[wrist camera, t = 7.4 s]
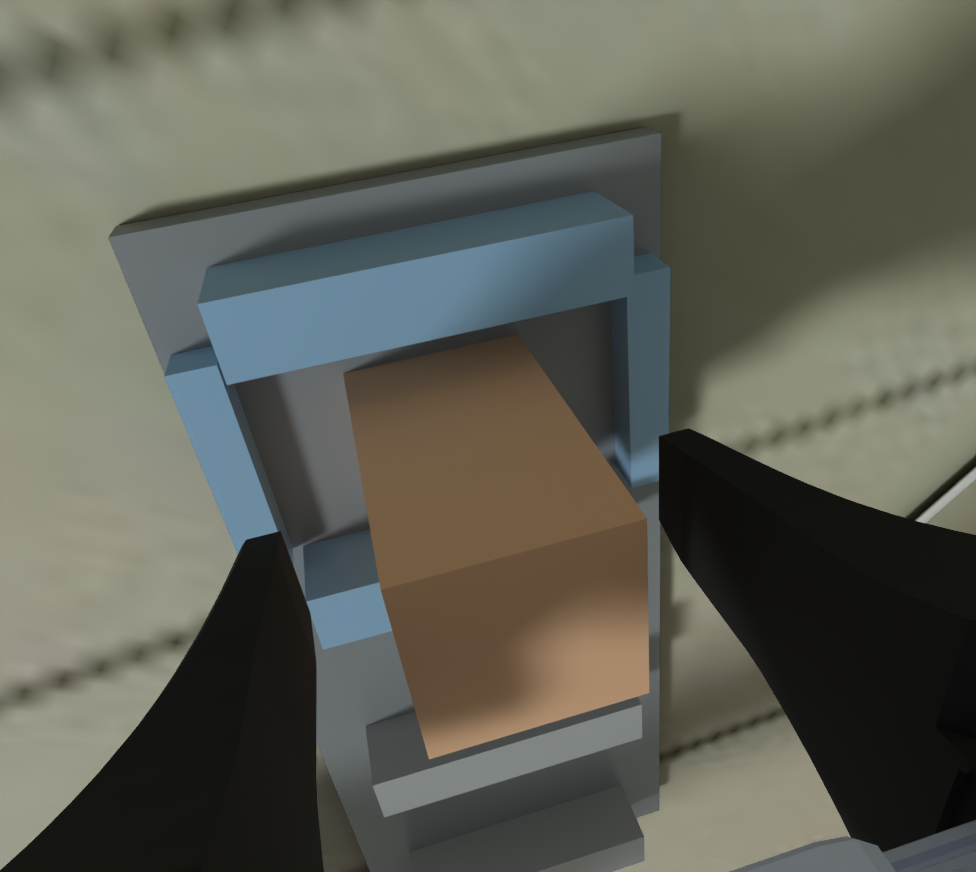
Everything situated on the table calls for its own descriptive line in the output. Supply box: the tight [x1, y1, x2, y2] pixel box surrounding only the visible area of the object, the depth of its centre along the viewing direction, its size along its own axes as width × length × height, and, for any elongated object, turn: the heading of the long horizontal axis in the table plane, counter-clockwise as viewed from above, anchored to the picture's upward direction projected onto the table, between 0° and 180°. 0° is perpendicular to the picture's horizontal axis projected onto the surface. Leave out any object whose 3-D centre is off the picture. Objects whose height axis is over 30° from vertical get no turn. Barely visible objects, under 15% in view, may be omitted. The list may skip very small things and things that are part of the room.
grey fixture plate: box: [108, 127, 671, 872], centre depth 21 cm, size 25×11×3 cm, turn 8°
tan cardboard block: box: [343, 334, 649, 759], centre depth 15 cm, size 4×4×7 cm
